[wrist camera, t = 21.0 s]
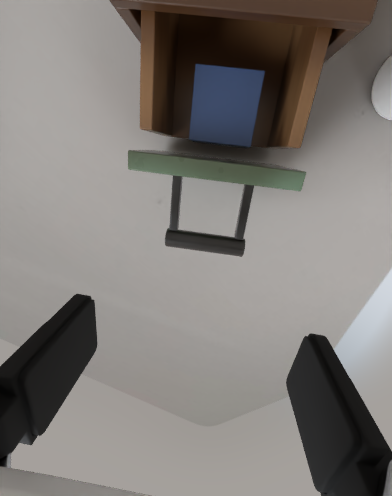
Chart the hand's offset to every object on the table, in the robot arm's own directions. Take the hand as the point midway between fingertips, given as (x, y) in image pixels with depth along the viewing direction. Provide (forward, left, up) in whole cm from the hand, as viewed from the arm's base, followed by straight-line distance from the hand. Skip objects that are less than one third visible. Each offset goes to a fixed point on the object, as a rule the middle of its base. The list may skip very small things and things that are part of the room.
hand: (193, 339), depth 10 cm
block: (0, -10, -14) cm, 18 cm away
